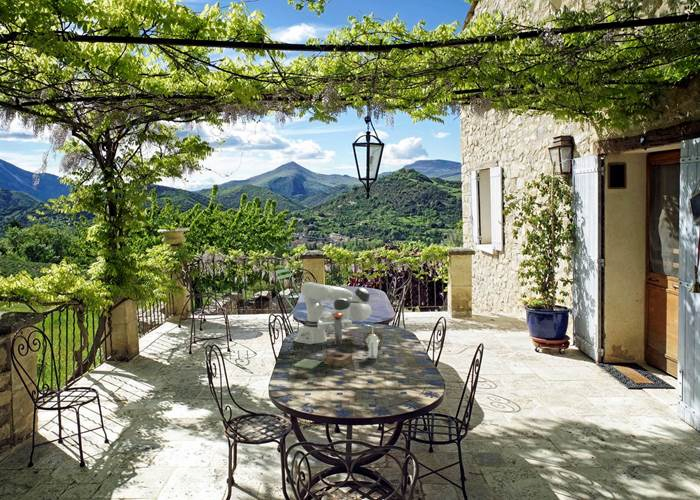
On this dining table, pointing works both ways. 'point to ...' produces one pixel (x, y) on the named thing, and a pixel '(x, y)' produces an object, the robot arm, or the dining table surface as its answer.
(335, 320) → the peg
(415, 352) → the dining table surface
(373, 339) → the cup with straw
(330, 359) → the collar
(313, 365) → the mat
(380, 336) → the pine cone
